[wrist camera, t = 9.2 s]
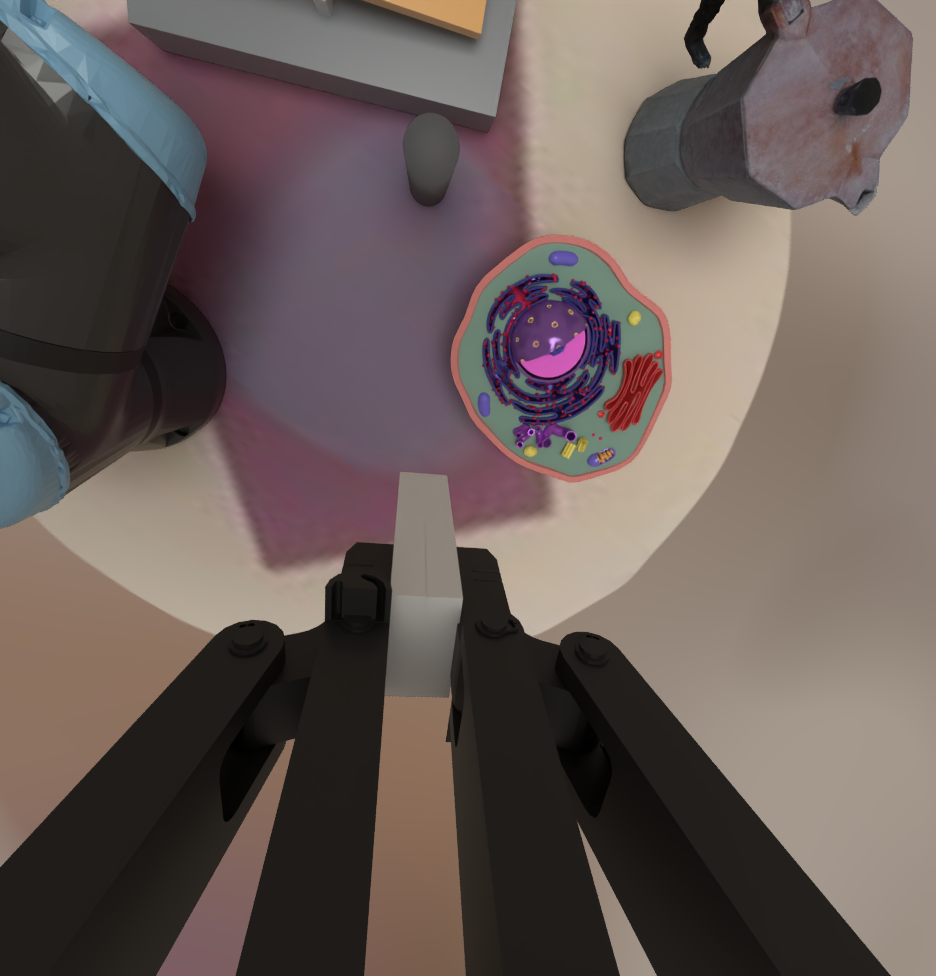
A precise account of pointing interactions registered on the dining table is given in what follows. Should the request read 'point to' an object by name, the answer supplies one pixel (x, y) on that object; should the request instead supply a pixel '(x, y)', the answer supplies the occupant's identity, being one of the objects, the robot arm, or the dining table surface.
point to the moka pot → (778, 111)
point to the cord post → (430, 156)
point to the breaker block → (343, 50)
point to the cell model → (563, 359)
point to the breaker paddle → (442, 13)
